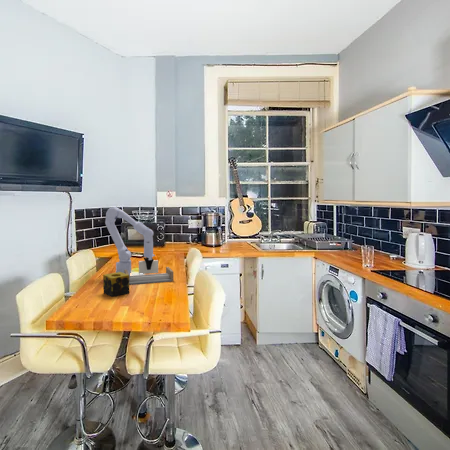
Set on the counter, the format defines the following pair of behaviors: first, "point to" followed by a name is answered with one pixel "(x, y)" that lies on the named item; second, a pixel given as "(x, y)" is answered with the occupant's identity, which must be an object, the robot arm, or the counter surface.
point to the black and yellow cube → (116, 284)
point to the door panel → (144, 268)
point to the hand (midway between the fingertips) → (148, 269)
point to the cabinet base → (151, 277)
